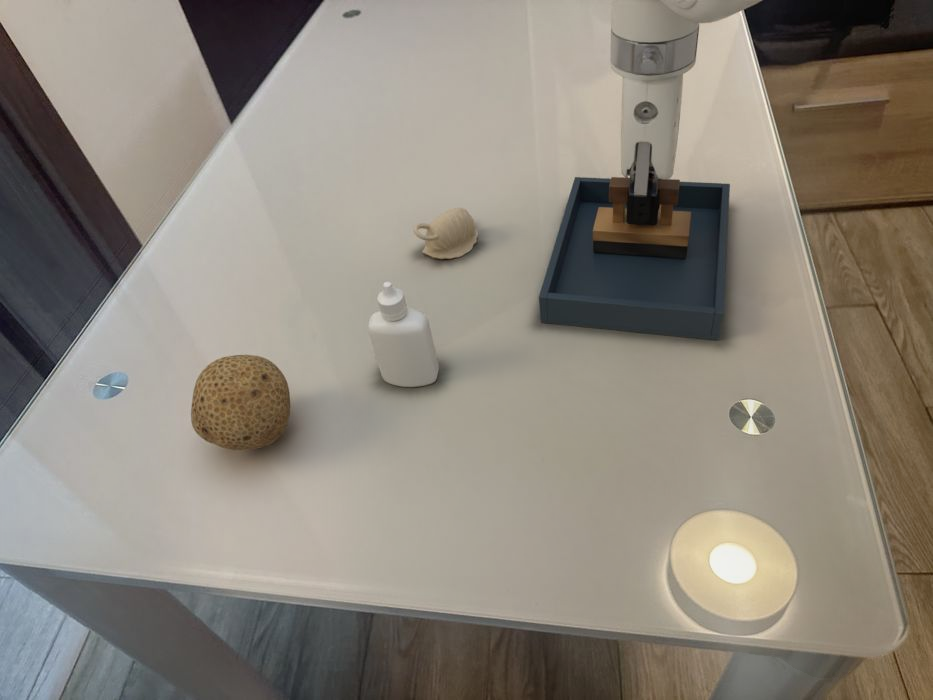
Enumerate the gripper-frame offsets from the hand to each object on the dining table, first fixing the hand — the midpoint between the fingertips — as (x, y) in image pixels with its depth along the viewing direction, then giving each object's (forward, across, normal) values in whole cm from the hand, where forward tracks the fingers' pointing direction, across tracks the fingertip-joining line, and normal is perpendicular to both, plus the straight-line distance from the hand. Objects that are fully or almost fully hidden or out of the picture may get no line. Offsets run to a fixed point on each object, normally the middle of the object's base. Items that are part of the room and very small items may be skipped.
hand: (643, 215), depth 76 cm
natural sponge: (+5, -32, +32) cm, 46 cm away
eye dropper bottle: (+5, -22, +20) cm, 30 cm away
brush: (+4, 0, 0) cm, 4 cm away
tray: (+5, -2, 0) cm, 5 cm away
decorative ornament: (+5, -2, +22) cm, 23 cm away
